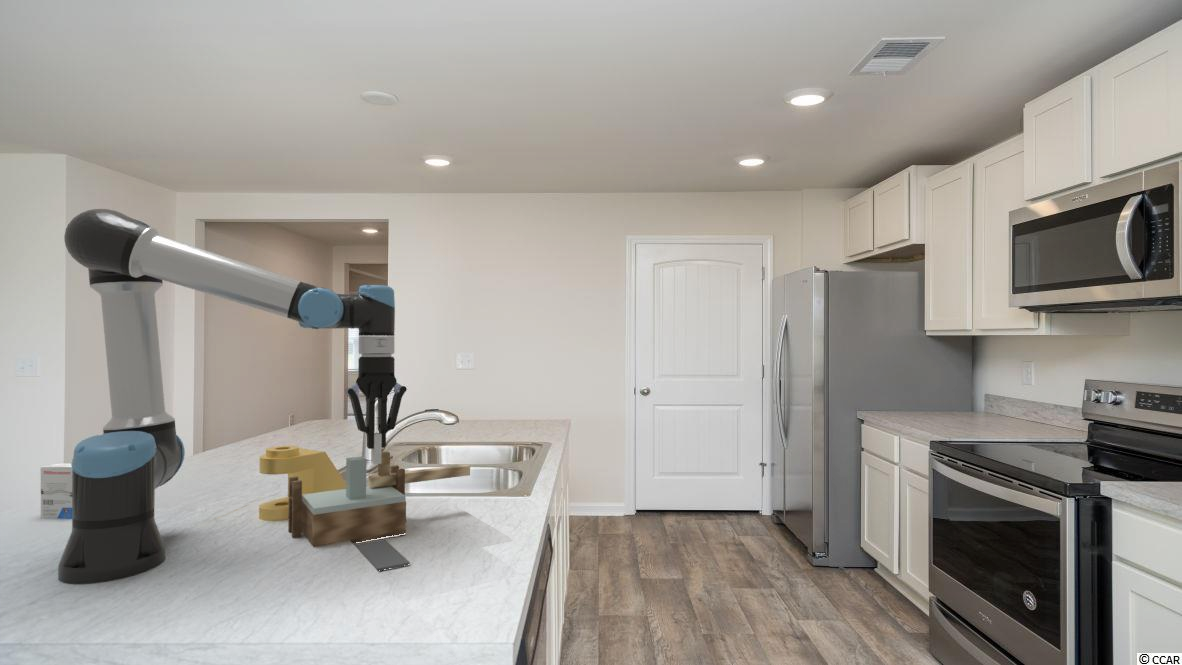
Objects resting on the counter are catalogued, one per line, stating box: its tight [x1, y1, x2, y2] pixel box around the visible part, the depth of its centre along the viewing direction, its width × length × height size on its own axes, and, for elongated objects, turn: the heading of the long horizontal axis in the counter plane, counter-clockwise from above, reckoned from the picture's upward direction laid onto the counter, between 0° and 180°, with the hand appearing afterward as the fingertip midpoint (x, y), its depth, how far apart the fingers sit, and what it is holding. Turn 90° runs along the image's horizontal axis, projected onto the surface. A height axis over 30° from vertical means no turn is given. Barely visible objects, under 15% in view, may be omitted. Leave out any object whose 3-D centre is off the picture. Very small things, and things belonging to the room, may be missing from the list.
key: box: [368, 451, 471, 488], centre depth 143 cm, size 23×2×7 cm, turn 124°
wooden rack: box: [287, 464, 407, 548], centre depth 131 cm, size 23×14×12 cm, turn 124°
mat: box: [353, 539, 411, 572], centre depth 114 cm, size 20×15×1 cm
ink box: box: [40, 462, 72, 520], centre depth 143 cm, size 9×5×12 cm, turn 84°
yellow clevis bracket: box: [258, 445, 346, 522], centre depth 147 cm, size 20×9×16 cm, turn 151°
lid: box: [302, 455, 407, 515], centre depth 131 cm, size 18×13×9 cm
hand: (376, 462), depth 138 cm, fingers closed
